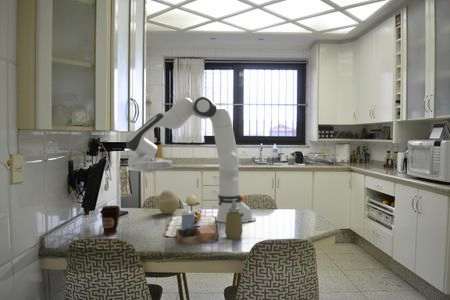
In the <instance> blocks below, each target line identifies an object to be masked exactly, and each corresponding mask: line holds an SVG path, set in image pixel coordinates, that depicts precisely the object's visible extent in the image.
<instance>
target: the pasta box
mask: <svg viewBox="0 0 450 300" xmlns="http://www.w3.org/2000/svg"><path fill="white" fill-rule="evenodd" d="M211 227H212V226H198V227H196V228H197V236H208V235H215V231H216V230H215V229H214V228H213V227H212V228H213V229H214V230H215V231H214V230H213V229H212V228H211Z"/></svg>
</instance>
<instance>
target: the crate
mask: <svg viewBox="0 0 450 300" xmlns="http://www.w3.org/2000/svg"><path fill="white" fill-rule="evenodd" d="M211 228H212V229H213V230H214V231H215V235H208V236H197V227H194V237H182V228H178V229H177V228H176V229H175V231H176V232H175V233H176V234H175V236H176V238H177V241H178V242H177V243H178V245H188V244H189V245H190V244H200V243H213V242H214V243H215V242H216V243H217V242H219V234H218V232H217V231H216V230H215V229H214V228H213V227H212V226H211Z"/></svg>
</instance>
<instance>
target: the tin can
mask: <svg viewBox="0 0 450 300" xmlns="http://www.w3.org/2000/svg"><path fill="white" fill-rule="evenodd" d="M194 228H195V211H193V210H183V211H181V229H182V237H194Z"/></svg>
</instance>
